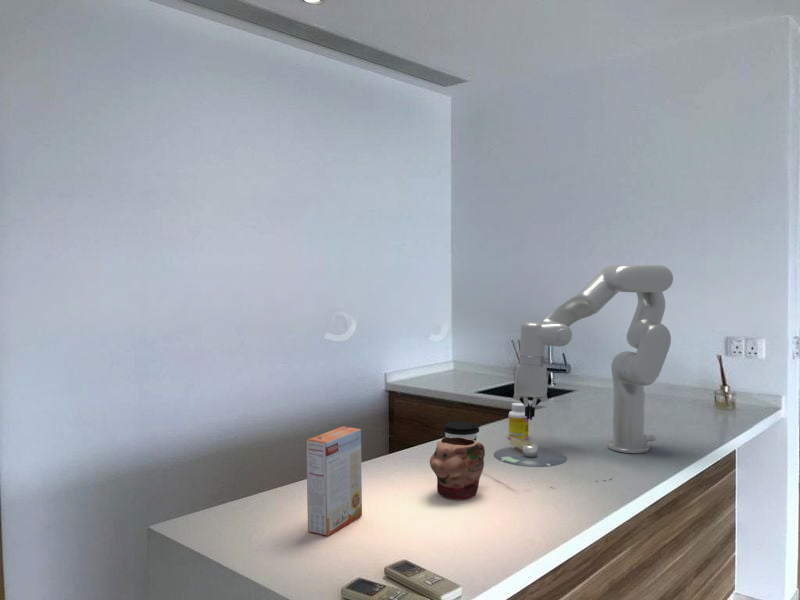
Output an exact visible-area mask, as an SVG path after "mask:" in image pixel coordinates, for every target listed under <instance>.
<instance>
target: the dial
mask: <svg viewBox="0 0 800 600" xmlns="http://www.w3.org/2000/svg"><path fill="white" fill-rule="evenodd" d="M493 457H494V458H495V459H496V460H498V461H499V462H502V463H504V464H508V465H512V466H519V467H526V468H546V467H547V468H548V467H556V466H559V465H563V464H564V463H566V462H567V461H568V457H567V456H566V455H565V454H564V453H562V452H560V451H556V450H555V449H549V448H544V447H537V457H525V456H523V450H522V449H520V448H517V447H515V446H511V447H509V446H508V447H504V448H500V449H497V450H496V451H495V452H494V453H493Z"/></svg>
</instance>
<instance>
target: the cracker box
mask: <svg viewBox="0 0 800 600" xmlns="http://www.w3.org/2000/svg"><path fill="white" fill-rule="evenodd" d="M305 441H306V442H305V445H306V449H305V451H306V452H305V453H306V456H305V457H306V495H307V496H306V497H307V498H306V499H307V532H308V533H312V534H316V535H321V536H324V537H329V536H331V535H332V534H334V533H336V532H337V531H339V530H340V529H342V528H344V527H346V526H348V525H349V524H350V523H353V522H354V521H355V520H358V519H359V518H361V517H362V516H363V496H362V495H363V489H362V485H363V483H362V478H363V477H362V430H361V428H355V427H350V426H340V427H337V428H334V429H332V430H329V431H327V432H324V433H322V434H318V435H316V436H314V437H310V438H308V439H306V440H305Z"/></svg>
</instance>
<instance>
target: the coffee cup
mask: <svg viewBox="0 0 800 600" xmlns="http://www.w3.org/2000/svg"><path fill="white" fill-rule="evenodd" d="M442 432H443V433H444V435H445V436H444V438H445V437H449V438H450V437H458V438H467V439H471V440H475V441H477V437H478V436H477V434H478V433H479V432H480V428H479V425H478V424H476V423H475V422H471V421H465V420H464V421H463V420H462V421H461V420H457V421H448V422H446V423H444V426H442Z"/></svg>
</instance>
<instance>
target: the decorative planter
mask: <svg viewBox="0 0 800 600" xmlns="http://www.w3.org/2000/svg"><path fill="white" fill-rule="evenodd" d="M485 455H486V450H485V446H484V444H483V443H481V442H478V441H477V440H476V441H475V440H471V439H467V438H458V437H450V438H449V437H445V436H444V437H443V438H441V439H440V440H438V441H437V443H436V448H435V451H434V452H433V454H432V455H431V456H430V459H429V465H430V469H431V470H432V472H433V473H434V474H435V476H436V481H437V482H436V483H437V484H436V491H437V494H438V495H439V496H441V497H444V498H446V499H450V500H458V501H461V500H463V501H464V500H468V499H473V498H474V497H475V496H476V495H477V492H478V489H479V484H480V478H481V475H482V472H483V470H484V465H485V461H484V460H485V459H484V458H485Z"/></svg>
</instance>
